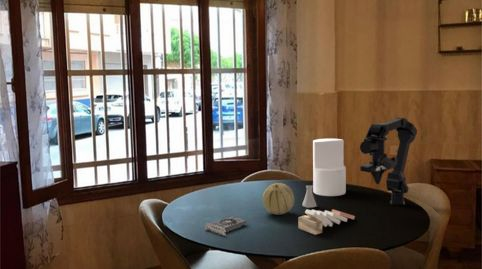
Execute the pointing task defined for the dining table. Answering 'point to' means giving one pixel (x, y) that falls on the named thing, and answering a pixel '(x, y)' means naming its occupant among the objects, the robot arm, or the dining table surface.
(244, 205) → the dining table surface
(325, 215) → the domino
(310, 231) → the block
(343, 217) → the domino
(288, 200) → the cantaloupe
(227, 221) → the graphics card
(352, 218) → the domino
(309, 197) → the flask
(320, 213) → the domino
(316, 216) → the domino
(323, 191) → the cylinder
